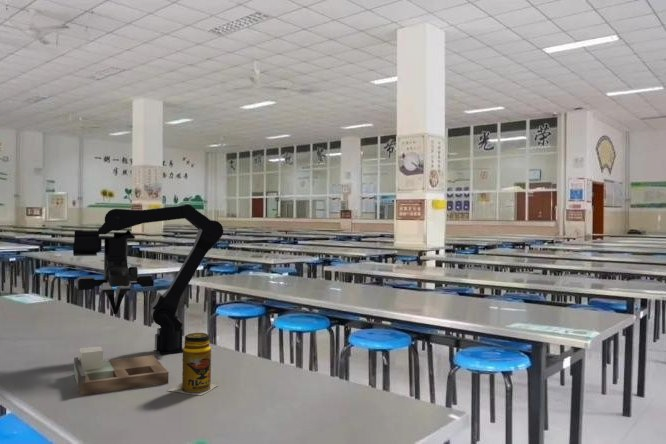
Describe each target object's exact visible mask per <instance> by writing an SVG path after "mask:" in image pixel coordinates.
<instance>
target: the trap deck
mask: <svg viewBox="0 0 666 444" xmlns="http://www.w3.org/2000/svg"><path fill="white" fill-rule="evenodd" d="M73 376H74V378H75V381H76V385H77V387H78V390H79V394H80V395H81V396H85V395H91V394H99V393H107V392H115V391H121V390H128V389H136V388H143V387H148V386H149V387H150V386H155V385H163V384H164V385H165V384H169V371H168V370H167V368H166V367H164V365H163V364H162V363H161V362H160V361H159V359H157V358H156V357H155V356H154V354H151V355H143V356H131V357H126V358H125V357H124V358H115V359H107V360H106V359H105V360H103V368H99V369H91V370H83V368H82V366H81V364H80V361H79V356H78V357H73Z"/></svg>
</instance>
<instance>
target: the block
mask: <svg viewBox="0 0 666 444" xmlns="http://www.w3.org/2000/svg"><path fill="white" fill-rule="evenodd" d="M78 359H79V361H80V364H81V366H82V368H83V370H91V369H99V368H103V361H104V350H103V348H102V347H101V346H91V347H81V348H79V356H78Z"/></svg>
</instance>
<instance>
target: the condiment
mask: <svg viewBox="0 0 666 444" xmlns="http://www.w3.org/2000/svg"><path fill="white" fill-rule="evenodd" d="M182 348H183V352H182V374H181V375H182V382H181V383H179V384H178V385H175V386H173V387H171V388H170V389H168V390H167V392H169V391H170V392H176V393H182V394H188V395H193V396H194V395H196V396H203V395H204V394H207V393H208V392H210V391H211V390H213V389H215V387H217V386H218V384H215V383H211V382H212V373H211V372H212V347H211V345H210V335H209V334H208V333H205V332H192V333H188V334H186V335H185V336H184V347H182Z"/></svg>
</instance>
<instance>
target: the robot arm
mask: <svg viewBox="0 0 666 444" xmlns="http://www.w3.org/2000/svg"><path fill="white" fill-rule="evenodd" d="M183 219H185V220H186V221H187V222H189V223H190V224H191V225H192V226H194V227H195V228H196V229H197V233H196V237H195V240H194V243H193V247H192V248H191V250H190V251H189V253H188V254H187V257H186V258H185V260H184V262H183V263H182V264H181V266H180V268H179V270H178V272H177V274H176V275H175V277H174V279H173V280H172V281H171V284H170V286H169V287H168V289H167V290H166V291H165V292H164V293H160V292H157V295H156V297H155V300H154V301H152V302H151V303H150V306H151V309H150V315H151V317H152V321H154V323H155V325H157V326H160V327H157V329H156V333H155V335H154V350H155V351H156V352H157V353H158V354H159V355H166V354H174V353H176V354H177V353H183V348H184V347H183V327H182V326H183V322H182V321H181V319H180V317H178V315H177V311H178V309H179V304H180V300H181V298H182V296H183V294H184V293H185V290H186V288H187V287H188V285H189V283H190V282H191V280H192V279H193V277H194V275H195V273H196V272H197V269H199V266H200V265H201V264H202V261H203V260H204V258H205V256H206V255H207V253H208V252H210V250H211V249H212V248H213V247H214V246H216V244H217V243H218V241H219V240H220V239H221V238H222V237H223V234H224V227H223V225H222V223H221V222H219V221H217V220H214V219H210V218H209V217H208V216H206V215H204V214H203V213H201V211H199V210H198V209H197V208H195V207H194V206H193V205H192V204H185V203H184V204H182V205H177V206H176V205H175V206H169V207H168V206H166V207H158V208H150V209H149V208H148V209H128V208H127V209H126V208H113V209H110V210H108V212H106V214H105V215H104V222H103V224H102V225H101V226H98V230H83V229H76V230H74V238H73V243H72V252H73V253H72V255H73V257H97V256H98V253H102V246H103V245H102V243H103V242H102V240H104V246H103V247H104V249H103V251H104V253H103V256H104V257H103V278H95V277H94V276H78V277H77V278H76V279H75V280H76V281H75V287H76V289H77V290H78V291H85V290H86V291H87V290H92V289H94V288H95V287H99V290H100V291H101V293H104V294H105V295H106V297H107V299H108V303H109V305H110V308H111V311H112V314H113V315H117V314H118V312H119V309H120V307H121V304H122V301H123V299H124V297H125V296H126V294H127V293H128V291H129V292H130V291H132V288H131V286H132V285H139V286H140V287H142V288H146V287H154V276H152V275H150V274H148V273H145V274H143V273H142V274H139V273H138V271H139V270H138V267H137V266H128V240H129V239H130V240H134V239H136V236H135V235H134V234H132V232H131V231H130V228H132V227H136V226H139V225H142V224H148V223H157V222H165V221H166V222H167V221H174V220H183ZM128 228H129V229H128ZM125 229H127V230H126V231H125V232H117V231H122V230H125ZM112 231H116V232H113V235H110V236H108V235H107V234H109V233H110V232H112ZM100 235H103V236H100ZM104 235H105V236H104ZM106 235H107V236H106ZM114 288H116V289H114ZM115 290H116V291H115Z"/></svg>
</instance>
